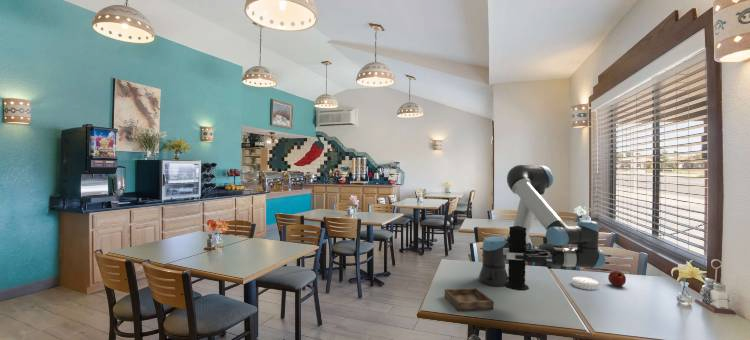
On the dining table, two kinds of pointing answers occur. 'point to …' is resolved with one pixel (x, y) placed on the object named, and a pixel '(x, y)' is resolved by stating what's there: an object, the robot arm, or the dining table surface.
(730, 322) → the dining table surface
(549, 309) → the dining table surface
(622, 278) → the apple
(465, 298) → the tray
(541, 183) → the robot arm
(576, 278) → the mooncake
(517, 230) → the handle grip
